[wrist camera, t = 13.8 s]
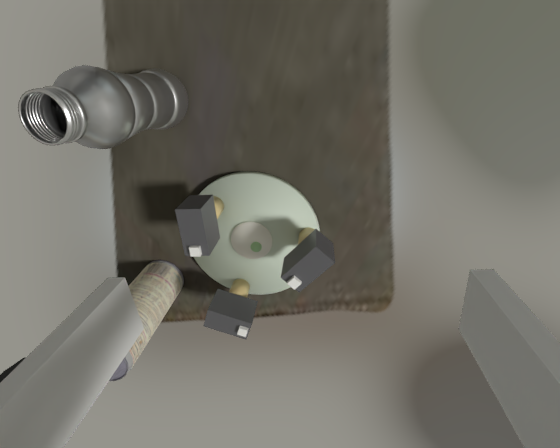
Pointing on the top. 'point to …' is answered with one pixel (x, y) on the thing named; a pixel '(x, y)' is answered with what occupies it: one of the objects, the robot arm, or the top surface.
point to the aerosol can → (151, 305)
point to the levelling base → (256, 229)
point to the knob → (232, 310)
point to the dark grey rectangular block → (199, 224)
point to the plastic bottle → (102, 106)
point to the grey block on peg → (307, 259)
